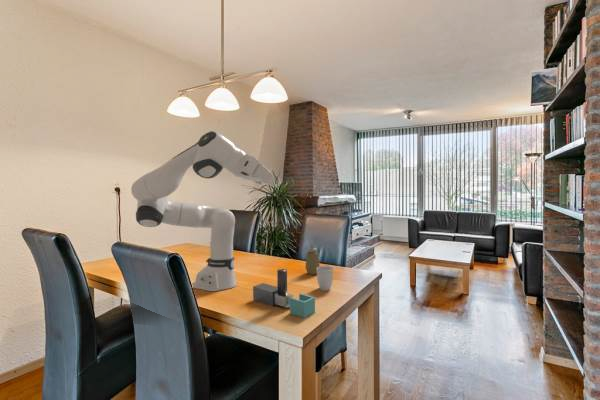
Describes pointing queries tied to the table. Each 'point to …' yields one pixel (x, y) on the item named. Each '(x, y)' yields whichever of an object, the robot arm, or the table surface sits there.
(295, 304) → the socket
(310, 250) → the squeeze bottle
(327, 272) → the cup
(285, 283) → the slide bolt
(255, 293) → the sleeve
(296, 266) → the table surface
